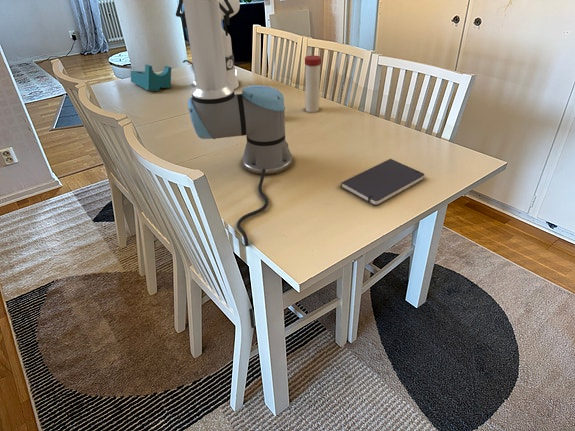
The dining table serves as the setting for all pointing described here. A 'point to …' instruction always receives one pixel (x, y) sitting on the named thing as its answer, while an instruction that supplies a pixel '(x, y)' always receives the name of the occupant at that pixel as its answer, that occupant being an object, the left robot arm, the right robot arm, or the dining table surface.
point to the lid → (312, 60)
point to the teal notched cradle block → (152, 78)
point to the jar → (312, 88)
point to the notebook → (382, 181)
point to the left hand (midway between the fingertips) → (275, 3)
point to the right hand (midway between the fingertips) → (208, 36)
